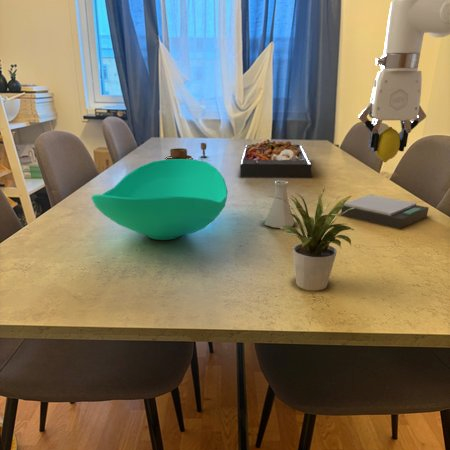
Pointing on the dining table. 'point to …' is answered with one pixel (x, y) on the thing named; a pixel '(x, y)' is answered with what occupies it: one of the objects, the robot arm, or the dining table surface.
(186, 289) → the dining table surface
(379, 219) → the scale
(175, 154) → the place setting
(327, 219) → the house plant
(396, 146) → the lemon
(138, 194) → the table top decor
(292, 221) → the flask
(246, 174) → the food platter
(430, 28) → the robot arm
